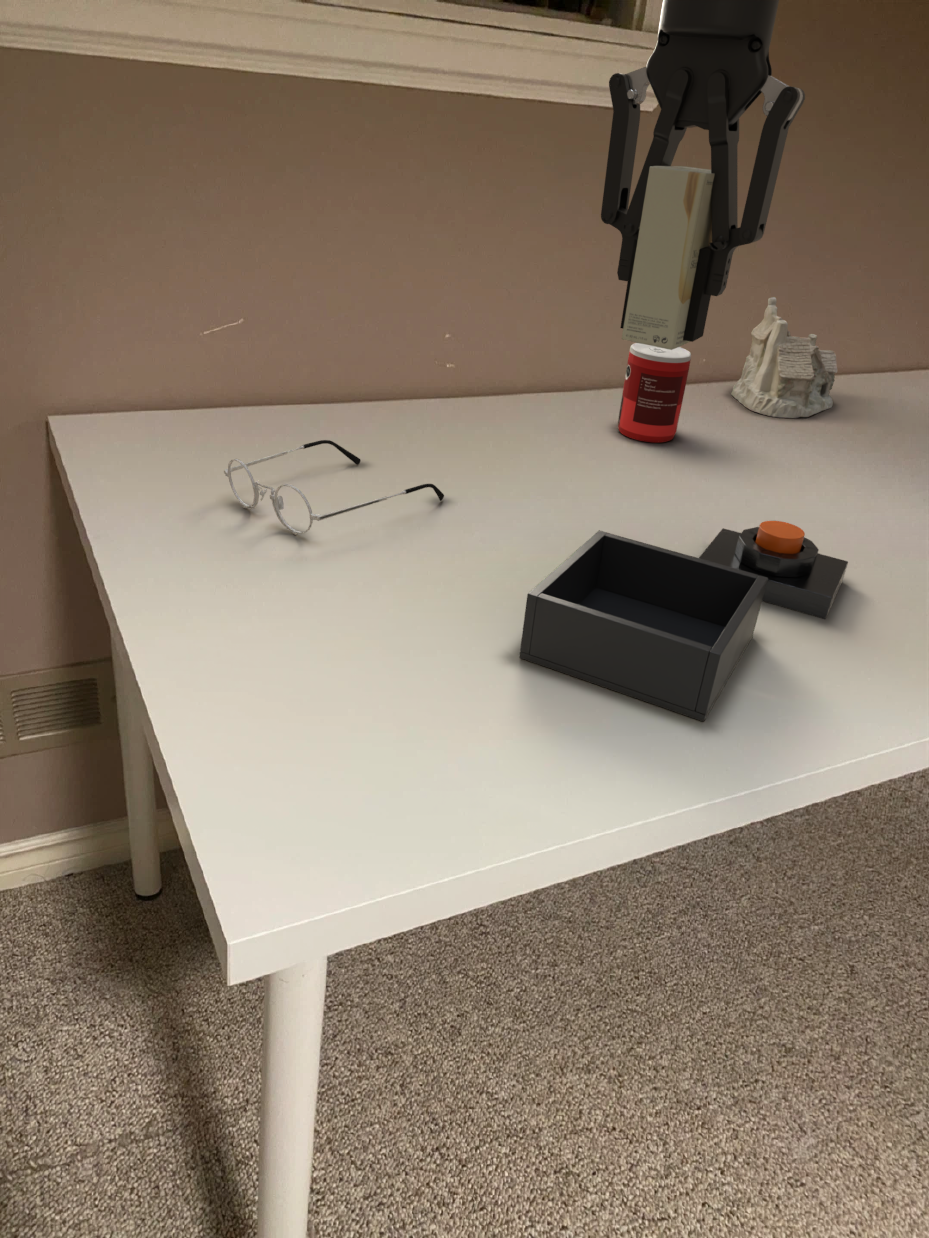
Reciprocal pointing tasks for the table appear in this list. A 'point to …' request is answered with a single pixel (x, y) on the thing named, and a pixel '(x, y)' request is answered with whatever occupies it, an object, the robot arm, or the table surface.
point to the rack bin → (643, 622)
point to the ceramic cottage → (785, 371)
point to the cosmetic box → (668, 254)
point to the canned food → (653, 392)
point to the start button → (780, 537)
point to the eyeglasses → (278, 500)
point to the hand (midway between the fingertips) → (661, 331)
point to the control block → (782, 571)
